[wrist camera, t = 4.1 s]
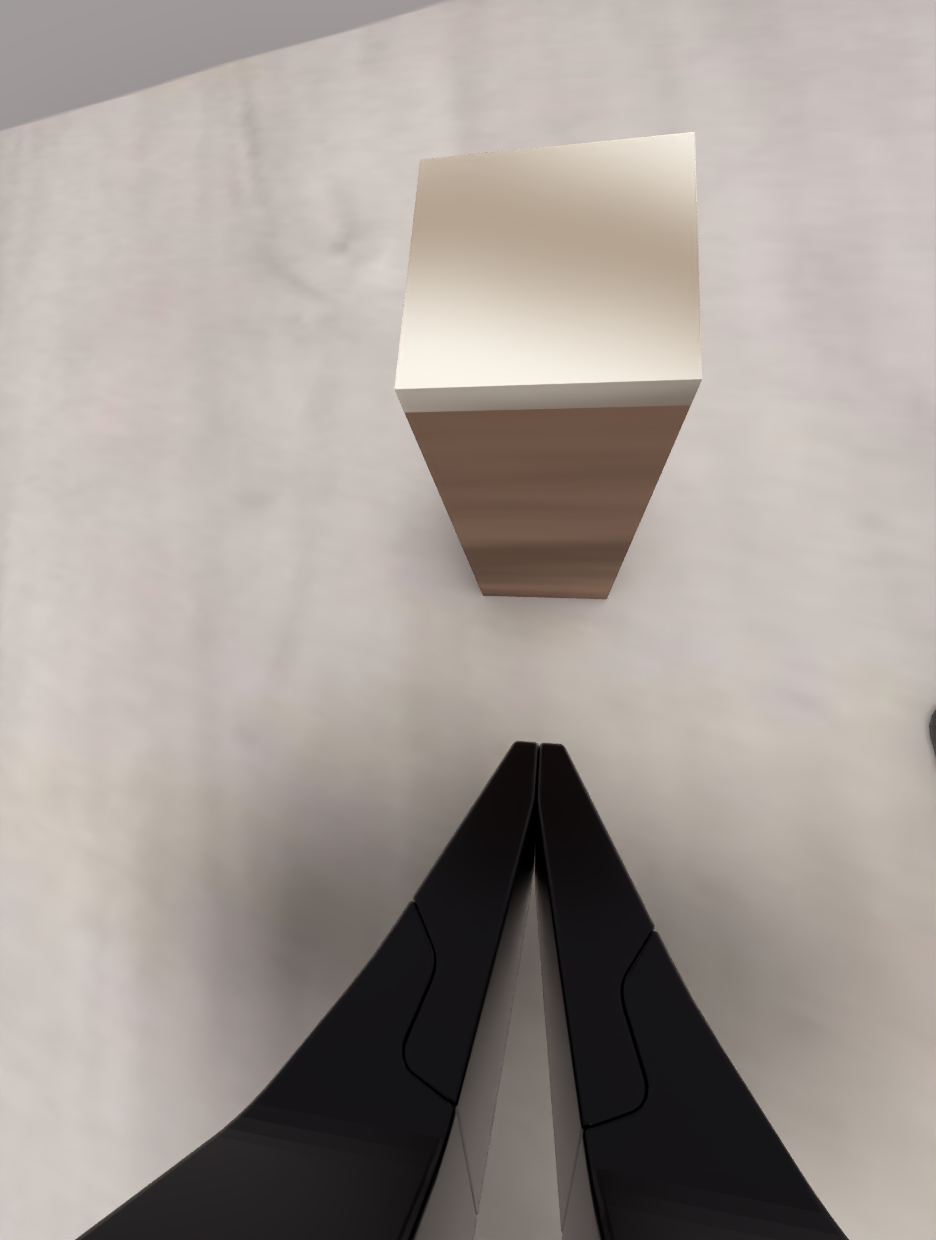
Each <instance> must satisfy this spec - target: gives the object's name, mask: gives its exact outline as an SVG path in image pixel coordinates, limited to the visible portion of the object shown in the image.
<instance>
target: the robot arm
mask: <svg viewBox="0 0 936 1240" xmlns="http://www.w3.org/2000/svg"><path fill="white" fill-rule="evenodd" d="M534 861H535V890H536V904H537V917H538V930H539V943H540V957H541V970H542V983H543V996H544V1009H545V1023H546V1036H547V1049H548V1062H549V1076H550V1089H551V1102H552V1115H553V1129H554V1142H555V1155H556V1168H557V1182H558V1195H559V1208H560V1221H561V1231H562V1233H563V1235H562V1240H849V1239H848V1238H847V1237H846V1235H845V1234H844V1233H843V1231H842V1230H841V1229H840V1227H839V1226H838V1225H837V1223H836V1222H835V1221H834V1219H833V1218H832V1217H831V1215H830V1214H829V1213H828V1211H827V1210H826V1208H825V1207H824V1205H823V1204H822V1203H821V1201H820V1200H819V1198H818V1197H817V1195H816V1194H815V1193H814V1191H813V1190H812V1188H811V1187H810V1185H809V1184H808V1182H807V1180H806V1179H805V1177H804V1176H803V1174H802V1173H801V1171H800V1170H799V1168H798V1167H797V1165H796V1164H795V1162H794V1160H793V1159H792V1157H791V1156H790V1154H789V1152H788V1151H787V1149H786V1148H785V1146H784V1145H783V1143H782V1141H781V1140H780V1138H779V1137H778V1135H777V1133H776V1132H775V1130H774V1129H773V1127H772V1126H771V1124H770V1122H769V1121H768V1119H767V1118H766V1116H765V1114H764V1113H763V1111H762V1110H761V1108H760V1107H759V1105H758V1103H757V1102H756V1100H755V1099H754V1097H753V1096H752V1094H751V1092H750V1091H749V1089H748V1088H747V1086H746V1084H745V1083H744V1081H743V1080H742V1078H741V1077H740V1075H739V1073H738V1072H737V1070H736V1069H735V1067H734V1065H733V1064H732V1062H731V1061H730V1059H729V1058H728V1056H727V1054H726V1053H725V1051H724V1050H723V1048H722V1046H721V1045H720V1043H719V1041H718V1040H717V1038H716V1036H715V1035H714V1033H713V1031H712V1030H711V1028H710V1026H709V1025H708V1023H707V1021H706V1020H705V1018H704V1016H703V1015H702V1013H701V1011H700V1010H699V1008H698V1006H697V1005H696V1003H695V1001H694V1000H693V998H692V996H691V994H690V992H689V991H688V989H687V987H686V985H685V983H684V981H683V979H682V977H681V976H680V974H679V972H678V970H677V968H676V966H675V964H674V963H673V961H672V959H671V957H670V955H669V953H668V951H667V949H666V947H665V945H664V943H663V941H662V939H661V937H660V935H659V933H658V932H657V931H654V929H655V926H654V923H653V921H652V919H651V917H650V915H649V914H648V912H647V910H646V908H645V906H644V904H643V902H642V900H641V898H640V896H639V894H638V892H637V890H636V888H635V886H634V884H633V882H632V880H631V878H630V876H629V874H628V872H627V870H626V868H625V866H624V864H623V862H622V860H621V858H620V856H619V854H618V852H617V850H616V848H615V846H614V844H613V842H612V840H611V838H610V836H609V834H608V832H607V830H606V828H605V826H604V824H603V822H602V820H601V818H600V816H599V814H598V812H597V810H596V808H595V806H594V804H593V802H592V800H591V798H590V796H589V794H588V792H587V790H586V788H585V786H584V784H583V782H582V780H581V778H580V776H579V774H578V772H577V770H576V768H575V766H574V764H573V762H572V760H571V758H570V756H569V754H568V752H567V750H566V748H565V747H564V746H563V745H562V744H552V743H541V744H540V746H539V745H538V744H537V743H536V742H524V741H516V742H514V743H513V745H512V746H511V748H510V749H509V751H508V752H507V754H506V755H505V757H504V758H503V760H502V761H501V763H500V764H499V766H498V768H497V769H496V771H495V772H494V774H493V775H492V777H491V778H490V780H489V781H488V783H487V784H486V786H485V787H484V789H483V791H482V792H481V794H480V795H479V797H478V798H477V800H476V801H475V803H474V804H473V806H472V807H471V809H470V810H469V812H468V814H467V815H466V817H465V818H464V820H463V821H462V823H461V824H460V826H459V827H458V829H457V830H456V832H455V833H454V835H453V837H452V838H451V840H450V841H449V843H448V844H447V846H446V847H445V849H444V850H443V852H442V853H441V855H440V856H439V858H438V860H437V861H436V863H435V864H434V866H433V867H432V869H431V870H430V872H429V873H428V875H427V876H426V878H425V879H424V881H423V883H422V884H421V886H420V887H419V889H418V890H417V892H416V893H415V895H414V896H413V901H414V902H413V901H410V902H409V904H408V905H407V907H406V908H405V910H404V911H403V913H402V914H401V916H400V917H399V919H398V920H397V922H396V924H395V925H394V926H393V928H392V929H391V931H390V932H389V934H388V935H387V936H386V938H385V939H384V941H383V942H382V944H381V945H380V946H379V948H378V949H377V951H376V952H375V954H374V955H373V956H372V958H371V959H370V960H369V961H368V963H367V964H366V965H365V967H364V968H363V969H362V970H361V972H360V973H359V974H358V976H357V977H356V978H355V979H354V981H353V982H352V983H351V985H350V986H349V987H348V988H347V990H346V991H345V992H344V993H343V994H342V996H341V997H340V998H339V999H338V1001H337V1002H336V1003H335V1004H334V1005H333V1007H332V1008H331V1009H330V1010H329V1011H328V1013H327V1014H326V1015H325V1016H324V1018H323V1019H322V1020H321V1021H320V1022H319V1024H318V1025H317V1026H316V1027H315V1028H314V1030H313V1031H312V1032H311V1033H310V1035H309V1036H308V1037H307V1038H306V1039H305V1041H304V1042H303V1043H302V1044H301V1045H300V1047H299V1048H298V1049H297V1050H296V1052H295V1053H294V1054H293V1055H292V1056H291V1058H290V1059H289V1060H288V1061H287V1062H286V1064H285V1065H284V1066H283V1067H282V1069H281V1070H280V1071H279V1072H278V1073H277V1075H276V1076H275V1077H274V1078H273V1079H272V1080H271V1082H270V1083H269V1084H268V1085H267V1086H266V1087H265V1089H264V1090H263V1091H262V1092H261V1093H260V1094H259V1095H258V1096H257V1097H256V1098H255V1099H254V1100H253V1101H252V1102H251V1103H250V1104H249V1105H248V1106H247V1107H246V1108H245V1109H244V1110H243V1111H242V1112H241V1113H240V1114H239V1115H238V1116H237V1117H236V1118H235V1119H234V1120H232V1121H231V1122H230V1123H229V1124H228V1125H227V1126H226V1127H224V1128H223V1129H222V1130H221V1131H219V1132H218V1133H217V1134H216V1135H214V1136H213V1137H212V1138H210V1139H209V1140H208V1141H206V1142H205V1143H204V1144H202V1145H201V1146H200V1147H198V1148H197V1149H196V1150H194V1151H193V1152H192V1153H190V1154H189V1155H188V1156H186V1157H185V1158H184V1159H182V1160H181V1161H180V1162H178V1163H177V1164H176V1165H174V1166H173V1167H172V1168H170V1169H169V1170H168V1171H166V1172H165V1173H164V1174H162V1175H161V1176H160V1177H158V1178H157V1179H156V1180H154V1181H153V1182H152V1183H150V1184H149V1185H148V1186H146V1187H145V1188H144V1189H142V1190H141V1191H140V1192H138V1193H137V1194H136V1195H134V1196H133V1197H132V1198H130V1199H129V1200H128V1201H126V1202H125V1203H124V1204H122V1205H121V1206H120V1207H118V1208H117V1209H116V1210H114V1211H113V1212H112V1213H110V1214H109V1215H107V1216H106V1217H105V1218H103V1219H102V1220H101V1221H99V1222H98V1223H97V1224H95V1225H94V1226H93V1227H91V1228H90V1229H89V1230H87V1231H86V1232H85V1233H83V1234H82V1235H81V1236H79V1237H78V1238H77V1239H75V1240H473V1239H474V1233H475V1227H476V1215H477V1213H478V1208H479V1202H480V1196H481V1190H482V1184H483V1178H484V1172H485V1166H486V1160H487V1154H488V1148H489V1142H490V1136H491V1130H492V1124H493V1118H494V1112H495V1106H496V1100H497V1094H498V1088H499V1082H500V1076H501V1070H502V1064H503V1058H504V1052H505V1046H506V1039H507V1033H508V1027H509V1021H510V1015H511V1009H512V1003H513V997H514V991H515V985H516V979H517V973H518V967H519V961H520V955H521V949H522V943H523V937H524V931H525V925H526V919H527V913H528V907H529V901H530V895H531V889H532V881H533V874H534Z"/></svg>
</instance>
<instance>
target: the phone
mask: <svg viewBox="0 0 936 1240" xmlns="http://www.w3.org/2000/svg"><path fill="white" fill-rule="evenodd" d="M929 727H930V736H931V741H932V744H933V748H934V751H935V755H936V711H935V712H934V713H933V715H932V718H931V722H930V726H929Z"/></svg>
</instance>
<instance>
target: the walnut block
mask: <svg viewBox="0 0 936 1240" xmlns="http://www.w3.org/2000/svg"><path fill="white" fill-rule="evenodd" d="M701 380H702V361H701V328H700V294H699V260H698V226H697V193H696V159H695V132H687V133H678V134H668V135H658V136H648V137H638V138H628V139H619V140H609V141H599V142H589V143H579V144H570V145H560V146H550V147H540V148H530V149H520V150H511V151H501V152H491V153H481V154H471V155H461V156H452V157H442V158H432V159H422V160H420V166H419V175H418V184H417V193H416V202H415V211H414V219H413V228H412V237H411V246H410V255H409V264H408V273H407V282H406V291H405V300H404V309H403V318H402V327H401V336H400V345H399V354H398V362H397V371H396V380H395V392H396V394H397V396H398V398H399V401H400V403H401V405H402V408H403V410H404V412H405V415H406V417H407V419H408V422H409V424H410V426H411V429H412V431H413V433H414V436H415V438H416V440H417V443H418V445H419V447H420V450H421V452H422V454H423V457H424V459H425V461H426V464H427V466H428V468H429V470H430V473H431V475H432V477H433V480H434V482H435V484H436V487H437V489H438V491H439V494H440V496H441V498H442V501H443V503H444V505H445V508H446V510H447V512H448V515H449V517H450V519H451V522H452V524H453V526H454V529H455V531H456V533H457V536H458V538H459V540H460V543H461V545H462V547H463V549H464V552H465V554H466V556H467V559H468V561H469V563H470V566H471V568H472V570H473V573H474V575H475V577H476V580H477V582H478V584H479V587H480V589H481V591H482V594H483V595H484V596H518V597H553V598H587V599H607V597H608V595H609V592H610V590H611V588H612V585H613V583H614V581H615V579H616V576H617V574H618V572H619V569H620V567H621V565H622V562H623V560H624V558H625V556H626V553H627V551H628V549H629V546H630V544H631V542H632V539H633V537H634V535H635V532H636V530H637V528H638V526H639V523H640V521H641V519H642V516H643V514H644V512H645V509H646V507H647V505H648V503H649V500H650V498H651V496H652V493H653V491H654V489H655V486H656V484H657V482H658V479H659V477H660V475H661V473H662V470H663V468H664V466H665V463H666V461H667V459H668V456H669V454H670V452H671V449H672V447H673V445H674V443H675V440H676V438H677V436H678V433H679V431H680V429H681V426H682V424H683V422H684V420H685V417H686V415H687V413H688V410H689V408H690V406H691V403H692V401H693V399H694V396H695V394H696V392H697V390H698V387H699V385H700V383H701Z"/></svg>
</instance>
